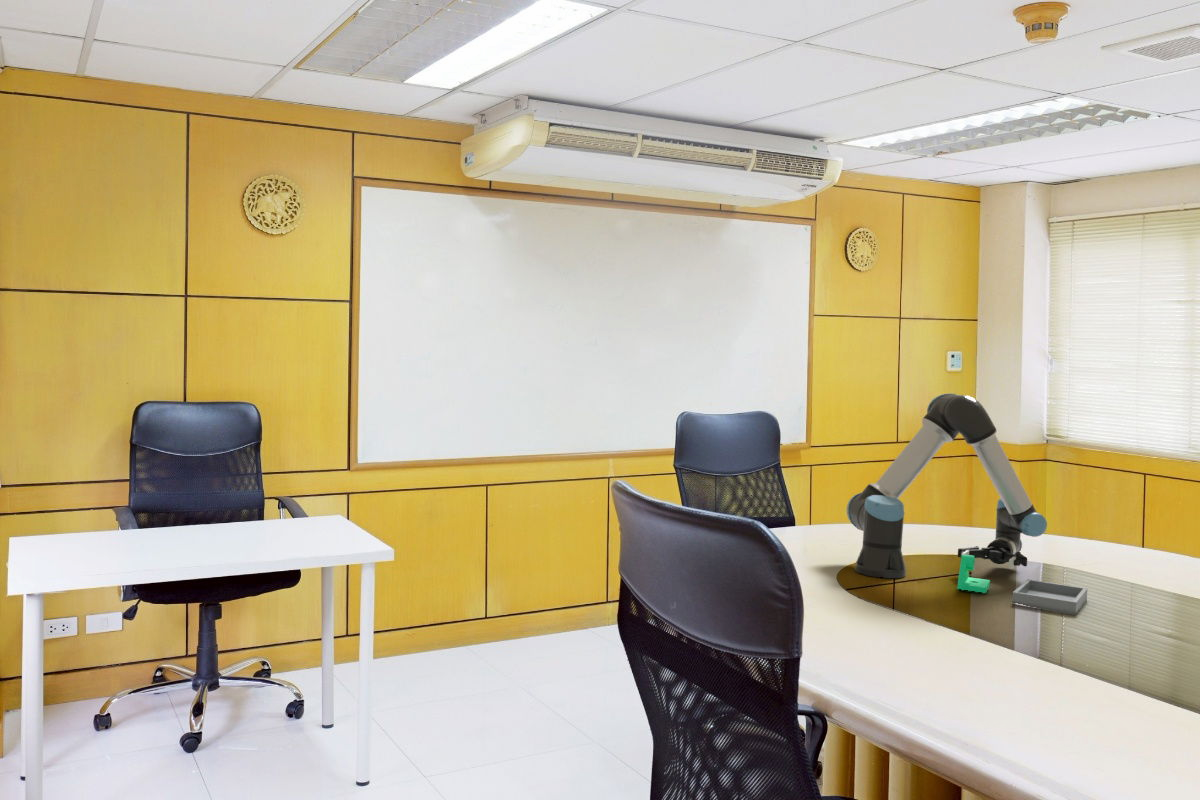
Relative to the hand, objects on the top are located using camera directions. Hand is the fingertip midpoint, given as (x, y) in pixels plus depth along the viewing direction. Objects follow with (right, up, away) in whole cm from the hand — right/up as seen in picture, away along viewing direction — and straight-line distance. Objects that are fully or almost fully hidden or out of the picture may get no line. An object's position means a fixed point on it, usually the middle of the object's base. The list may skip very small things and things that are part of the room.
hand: (986, 561), depth 299 cm
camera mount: (-7, -8, -7) cm, 13 cm away
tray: (+11, -9, -19) cm, 23 cm away
